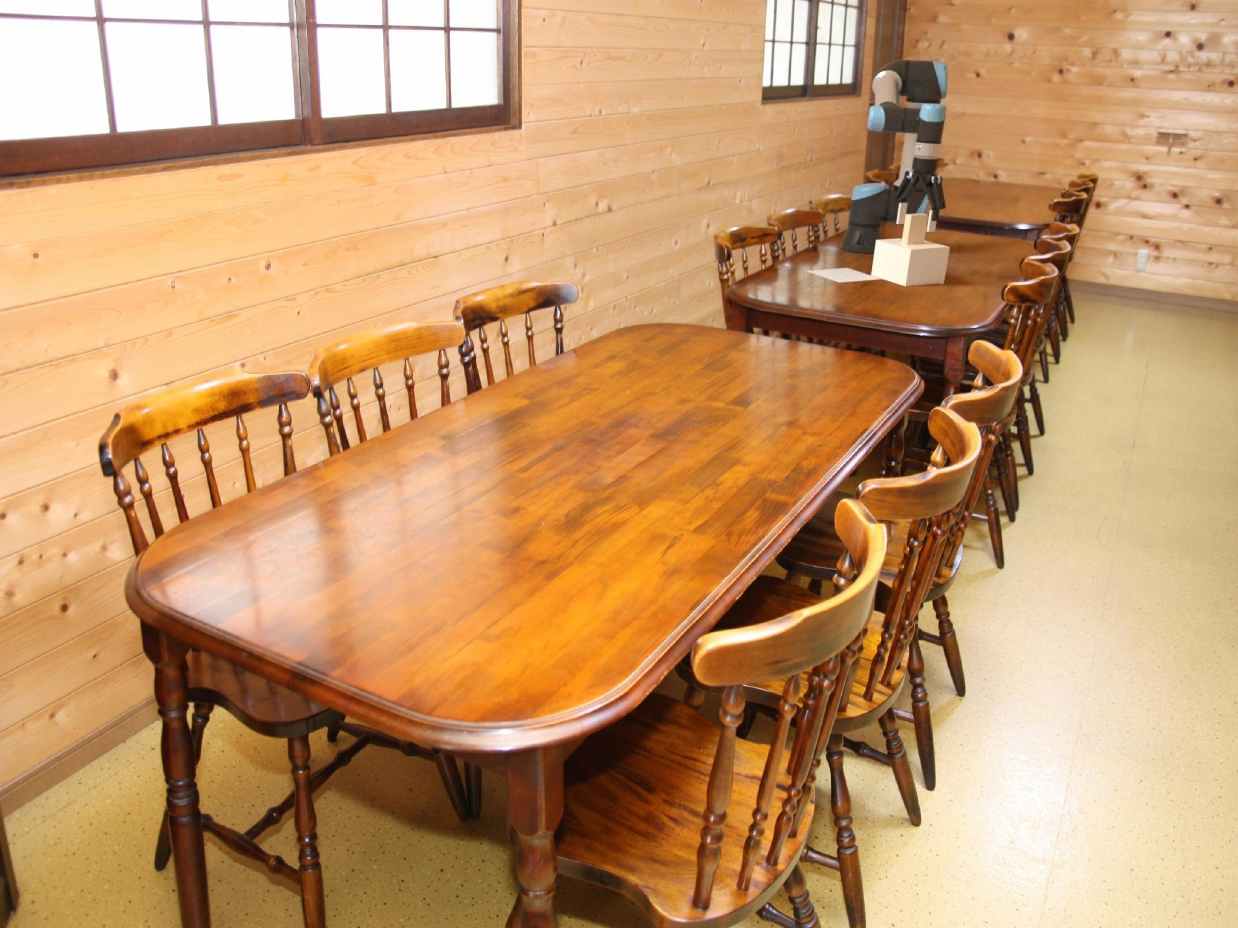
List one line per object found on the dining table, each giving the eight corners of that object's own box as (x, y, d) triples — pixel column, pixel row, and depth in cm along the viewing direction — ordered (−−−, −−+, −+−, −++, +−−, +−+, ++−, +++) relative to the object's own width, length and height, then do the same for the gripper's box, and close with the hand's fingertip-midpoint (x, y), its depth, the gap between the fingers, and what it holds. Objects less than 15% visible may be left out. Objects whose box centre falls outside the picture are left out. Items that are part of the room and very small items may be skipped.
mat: (805, 272, 333) (805, 270, 333) (846, 269, 341) (847, 267, 341) (839, 284, 320) (839, 282, 320) (881, 280, 327) (881, 278, 327)
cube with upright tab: (870, 276, 332) (880, 211, 324) (908, 273, 339) (918, 209, 331) (905, 287, 319) (915, 219, 311) (943, 284, 326) (954, 217, 318)
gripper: (889, 152, 323) (879, 221, 331) (946, 162, 303) (934, 235, 311) (907, 152, 326) (897, 220, 334) (965, 162, 306) (953, 234, 314)
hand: (915, 227), depth 323 cm, fingers open, 13 cm apart
